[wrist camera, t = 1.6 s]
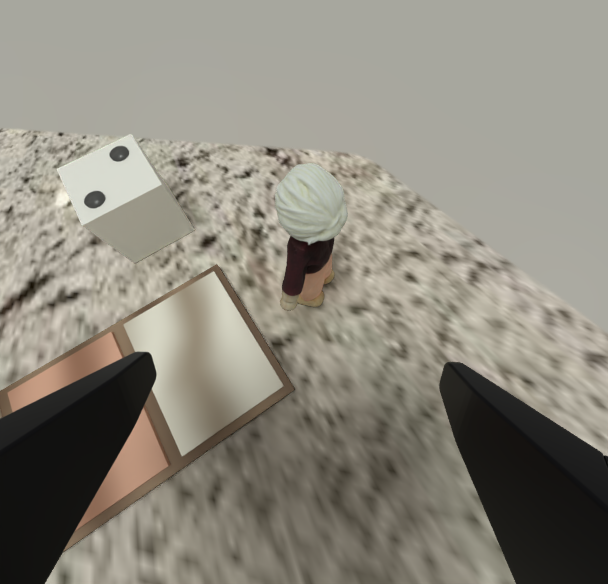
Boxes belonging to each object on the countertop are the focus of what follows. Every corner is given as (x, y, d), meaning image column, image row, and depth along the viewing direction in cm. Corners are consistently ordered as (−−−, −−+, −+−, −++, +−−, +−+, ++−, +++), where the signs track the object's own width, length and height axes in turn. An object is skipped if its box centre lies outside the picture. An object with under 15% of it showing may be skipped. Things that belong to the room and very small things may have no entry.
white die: (168, 186, 28) (129, 131, 22) (195, 229, 26) (160, 183, 20) (111, 216, 27) (54, 167, 21) (134, 263, 25) (80, 224, 19)
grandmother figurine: (301, 243, 25) (290, 107, 13) (343, 253, 25) (371, 122, 13) (274, 325, 23) (230, 249, 11) (320, 337, 22) (328, 274, 10)
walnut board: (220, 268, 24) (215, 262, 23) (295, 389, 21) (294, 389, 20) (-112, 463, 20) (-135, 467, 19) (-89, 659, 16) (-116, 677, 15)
